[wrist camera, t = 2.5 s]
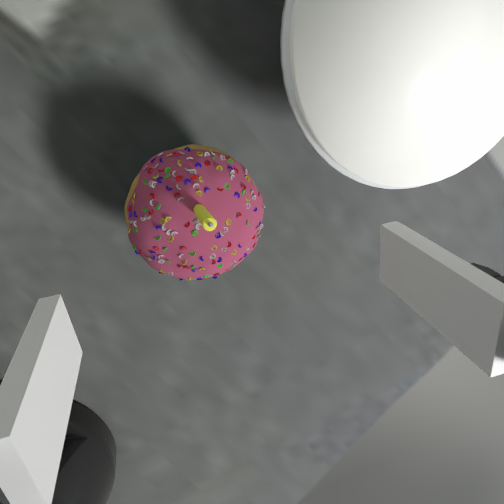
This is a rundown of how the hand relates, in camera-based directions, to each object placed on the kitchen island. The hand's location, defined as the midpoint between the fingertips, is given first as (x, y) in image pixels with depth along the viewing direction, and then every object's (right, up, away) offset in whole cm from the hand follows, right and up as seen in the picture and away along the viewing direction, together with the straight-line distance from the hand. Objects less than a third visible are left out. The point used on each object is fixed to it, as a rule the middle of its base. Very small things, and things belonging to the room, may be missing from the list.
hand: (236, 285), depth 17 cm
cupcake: (-4, +5, +13) cm, 14 cm away
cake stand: (+9, +15, +12) cm, 21 cm away
